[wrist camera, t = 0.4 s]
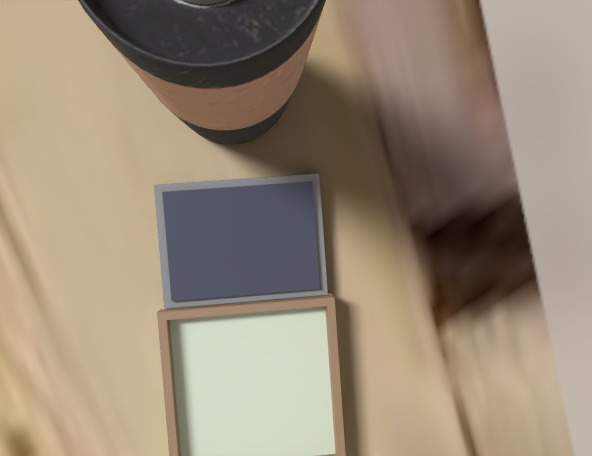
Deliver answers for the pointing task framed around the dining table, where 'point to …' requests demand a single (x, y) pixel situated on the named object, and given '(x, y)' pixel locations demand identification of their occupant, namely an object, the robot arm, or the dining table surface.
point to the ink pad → (241, 240)
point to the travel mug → (214, 57)
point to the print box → (253, 378)
